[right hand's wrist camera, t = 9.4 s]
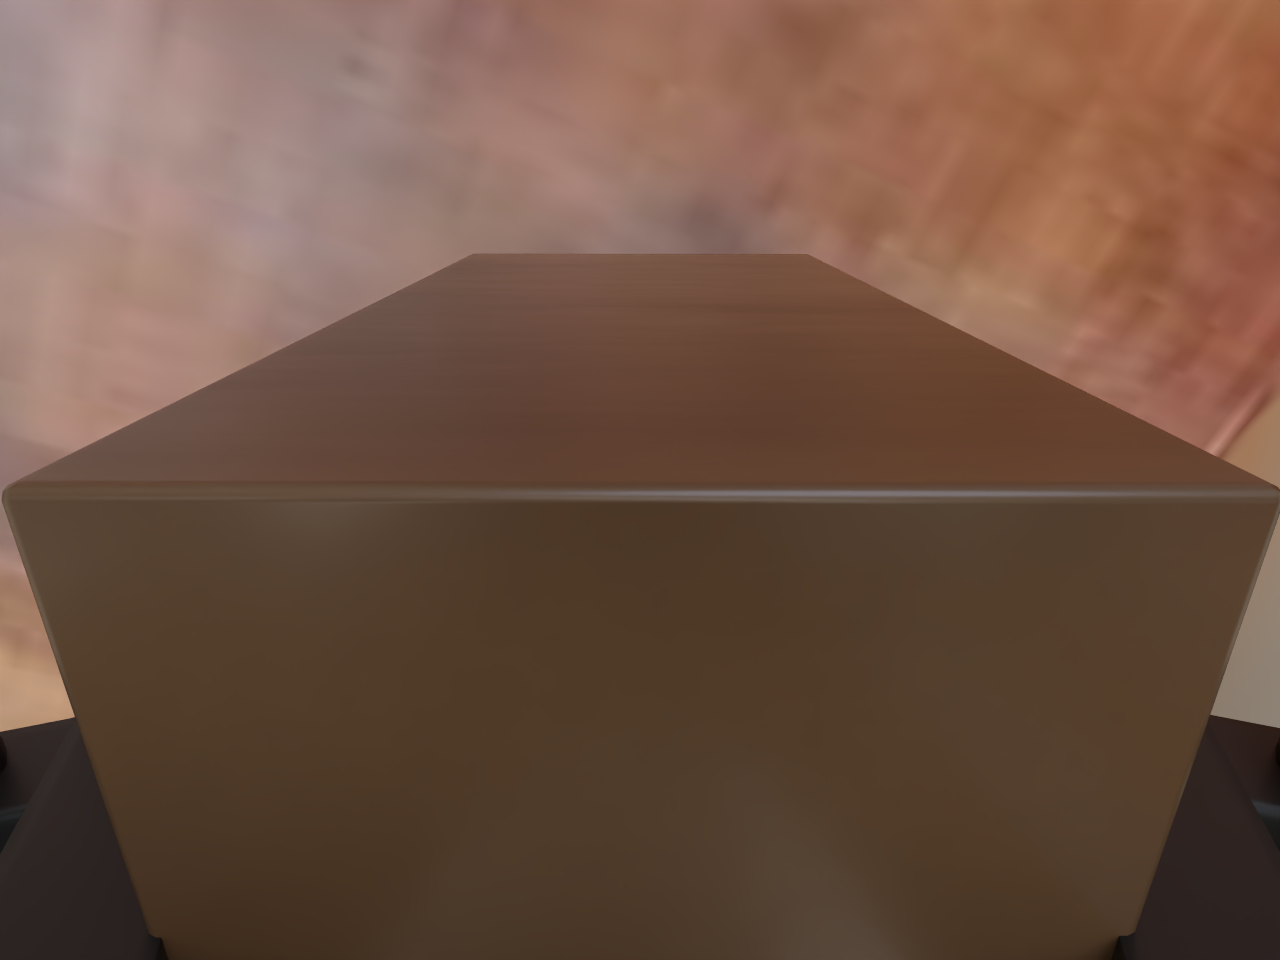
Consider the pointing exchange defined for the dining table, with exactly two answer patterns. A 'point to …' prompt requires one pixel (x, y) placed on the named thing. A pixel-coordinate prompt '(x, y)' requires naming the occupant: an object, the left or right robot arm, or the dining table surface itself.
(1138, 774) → the box
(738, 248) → the dining table surface
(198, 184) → the dining table surface
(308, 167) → the dining table surface
